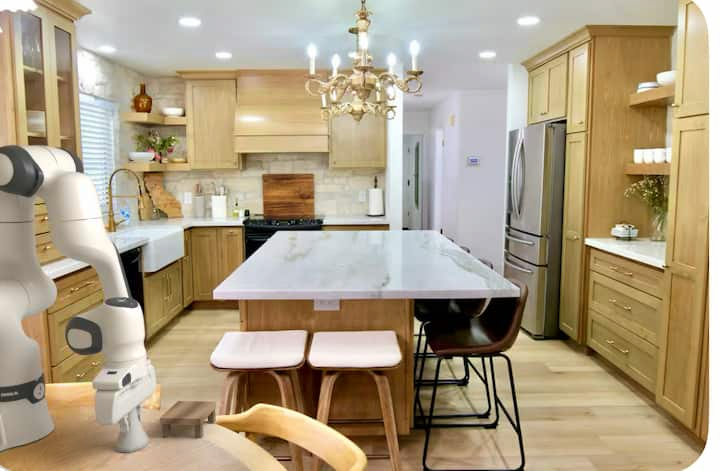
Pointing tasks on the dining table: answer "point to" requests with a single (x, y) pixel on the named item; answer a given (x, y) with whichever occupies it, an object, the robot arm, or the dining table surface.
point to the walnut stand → (188, 416)
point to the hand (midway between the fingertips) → (131, 426)
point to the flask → (132, 435)
